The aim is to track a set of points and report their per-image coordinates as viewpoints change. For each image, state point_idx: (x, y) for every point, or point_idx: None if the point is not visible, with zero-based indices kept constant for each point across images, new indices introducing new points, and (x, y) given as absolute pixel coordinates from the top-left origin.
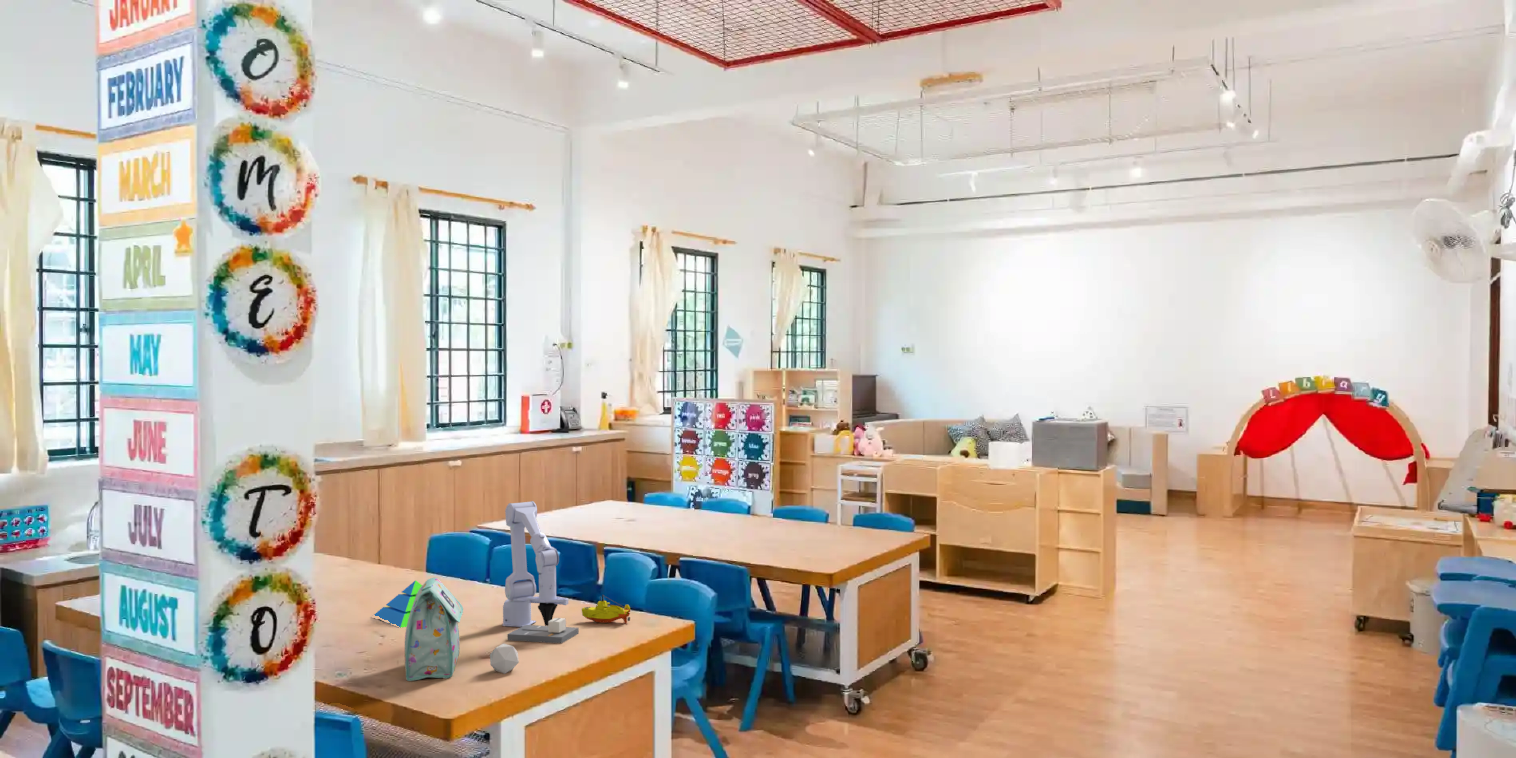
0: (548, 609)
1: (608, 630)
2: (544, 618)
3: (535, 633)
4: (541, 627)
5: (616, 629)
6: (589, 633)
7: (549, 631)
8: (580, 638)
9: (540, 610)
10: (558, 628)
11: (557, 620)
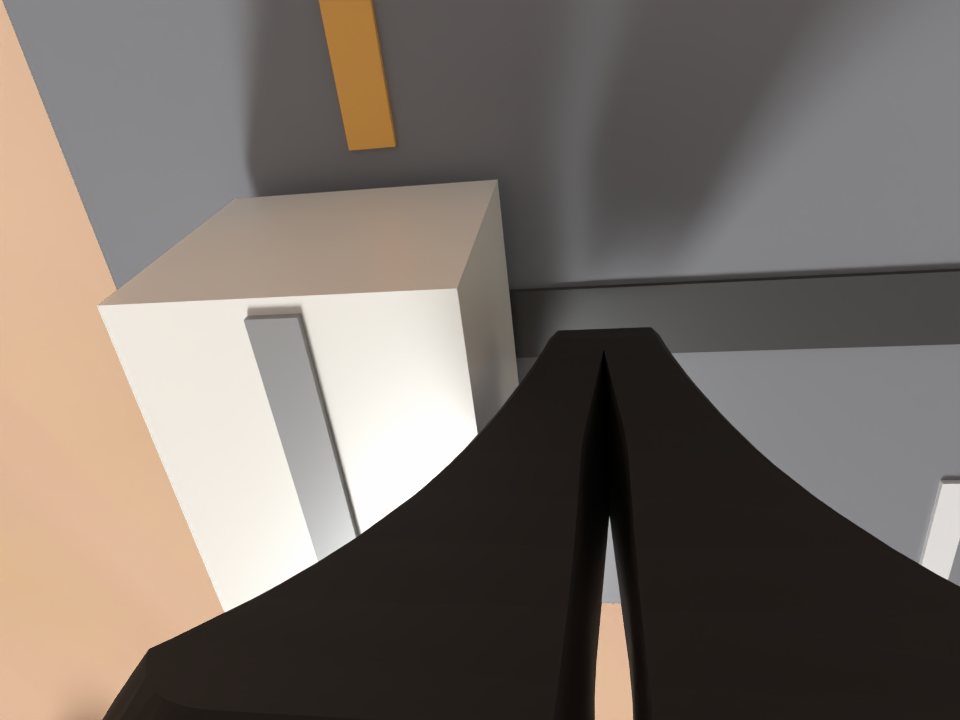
0: (334, 627)
1: (62, 672)
2: (657, 403)
3: (816, 55)
4: (873, 516)
5: (24, 707)
6: (148, 552)
7: (469, 187)
8: (52, 323)
9: (906, 592)
10: (209, 230)
11: (270, 439)
